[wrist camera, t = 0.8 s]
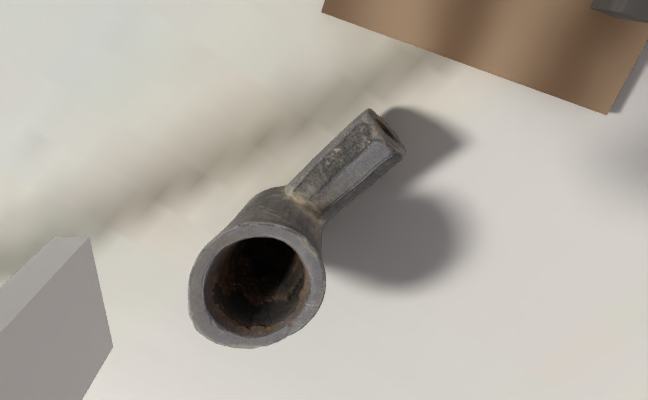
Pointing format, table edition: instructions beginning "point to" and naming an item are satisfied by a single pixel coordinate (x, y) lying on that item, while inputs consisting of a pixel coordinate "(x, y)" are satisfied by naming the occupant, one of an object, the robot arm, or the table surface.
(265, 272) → the pipe
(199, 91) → the table surface
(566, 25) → the collar cradle
